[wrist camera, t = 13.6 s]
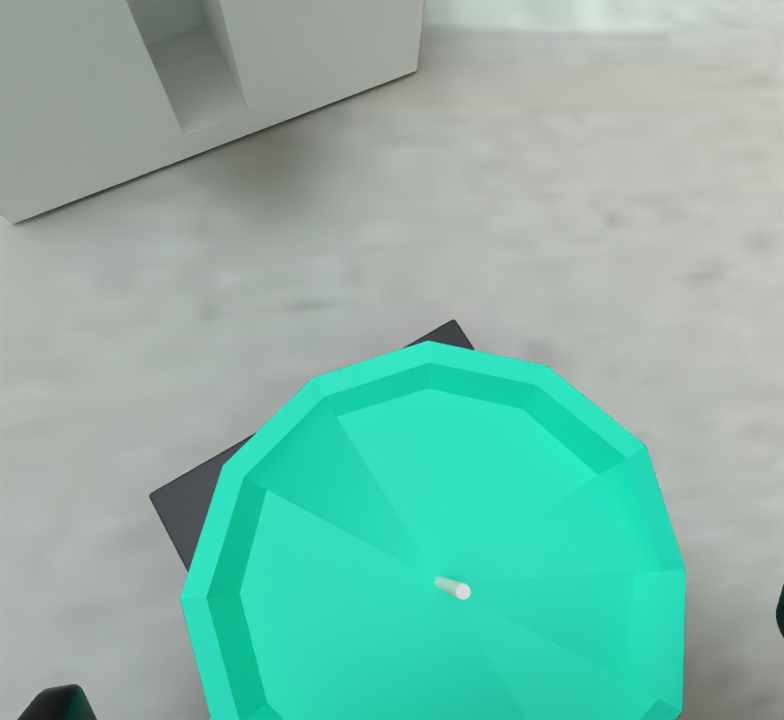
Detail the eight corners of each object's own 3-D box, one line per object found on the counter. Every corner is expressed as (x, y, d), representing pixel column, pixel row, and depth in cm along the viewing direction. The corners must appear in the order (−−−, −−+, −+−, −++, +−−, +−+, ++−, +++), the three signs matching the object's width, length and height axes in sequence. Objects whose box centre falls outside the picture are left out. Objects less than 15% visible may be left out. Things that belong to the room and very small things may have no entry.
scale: (467, 328, 23) (483, 295, 20) (646, 598, 21) (692, 606, 18) (171, 501, 21) (140, 492, 18) (335, 814, 19) (330, 863, 16)
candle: (285, 699, 17) (125, 998, 6) (283, 456, 19) (155, 304, 7) (525, 684, 18) (836, 939, 6) (503, 447, 19) (717, 286, 8)
